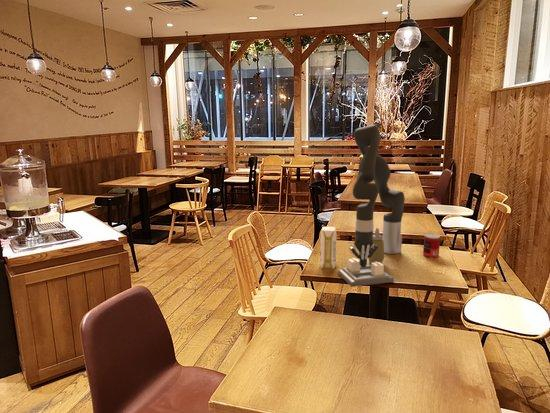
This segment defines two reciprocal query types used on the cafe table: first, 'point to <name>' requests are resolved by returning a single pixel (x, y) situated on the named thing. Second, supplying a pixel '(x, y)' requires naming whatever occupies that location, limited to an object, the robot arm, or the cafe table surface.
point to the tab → (377, 269)
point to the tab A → (353, 265)
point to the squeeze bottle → (379, 251)
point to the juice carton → (328, 247)
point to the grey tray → (364, 277)
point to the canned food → (431, 245)
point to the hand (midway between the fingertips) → (362, 266)
